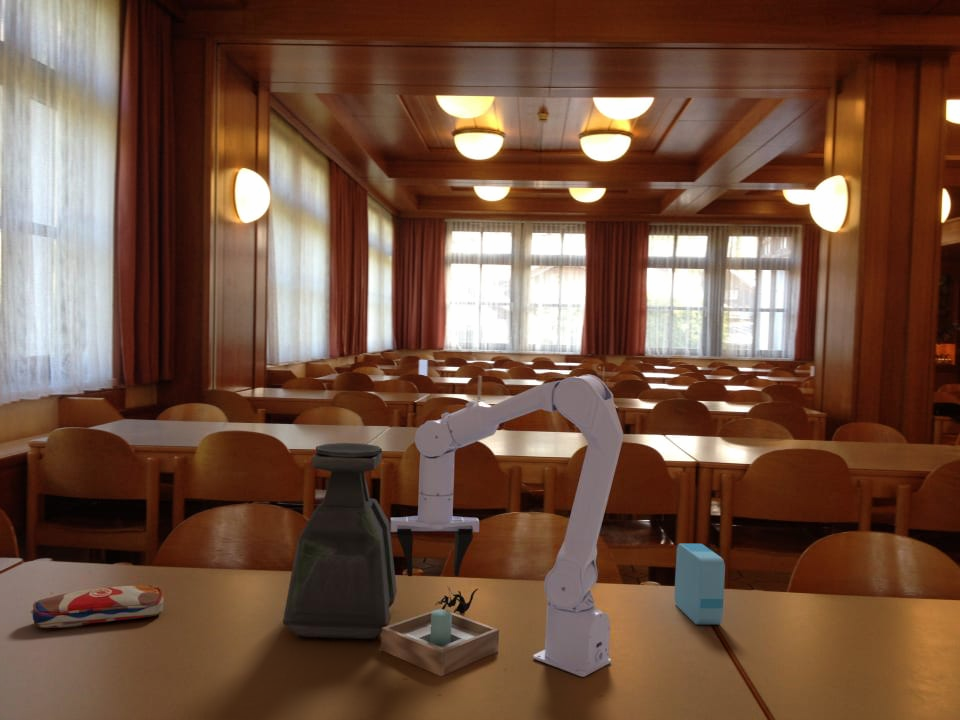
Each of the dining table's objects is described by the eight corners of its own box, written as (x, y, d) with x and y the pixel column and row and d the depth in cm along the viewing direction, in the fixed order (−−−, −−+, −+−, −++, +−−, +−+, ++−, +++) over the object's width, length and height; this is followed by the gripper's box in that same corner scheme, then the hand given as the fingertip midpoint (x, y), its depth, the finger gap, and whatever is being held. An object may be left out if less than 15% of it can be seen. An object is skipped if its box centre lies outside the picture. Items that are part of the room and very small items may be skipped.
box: (498, 651, 125) (499, 629, 125) (440, 676, 115) (441, 652, 115) (439, 628, 134) (439, 608, 133) (381, 650, 124) (381, 627, 124)
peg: (452, 654, 123) (454, 616, 123) (433, 656, 122) (434, 617, 122) (446, 646, 126) (448, 609, 126) (427, 648, 125) (428, 610, 125)
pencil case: (153, 632, 128) (154, 601, 128) (21, 636, 124) (21, 604, 124) (167, 608, 139) (168, 579, 139) (46, 611, 135) (46, 582, 135)
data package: (722, 627, 140) (726, 559, 139) (697, 627, 139) (701, 559, 139) (696, 603, 151) (699, 541, 151) (673, 603, 151) (676, 541, 150)
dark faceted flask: (385, 647, 125) (392, 458, 124) (281, 643, 125) (286, 454, 124) (396, 607, 143) (402, 442, 142) (305, 604, 143) (310, 438, 142)
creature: (422, 620, 140) (455, 622, 135) (418, 589, 141) (451, 590, 136) (452, 609, 146) (484, 611, 141) (448, 580, 147) (480, 580, 142)
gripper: (392, 497, 125) (389, 582, 126) (483, 498, 128) (479, 581, 128) (391, 488, 132) (388, 568, 133) (476, 489, 135) (473, 568, 135)
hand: (432, 574), depth 131 cm, fingers open, 7 cm apart
